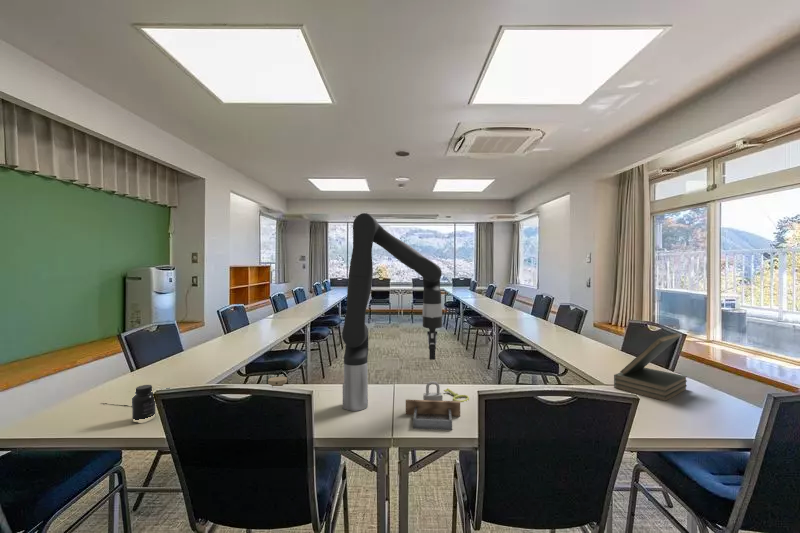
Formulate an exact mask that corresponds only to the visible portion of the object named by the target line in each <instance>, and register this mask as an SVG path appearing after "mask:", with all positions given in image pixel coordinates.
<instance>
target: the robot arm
mask: <svg viewBox="0 0 800 533" xmlns="http://www.w3.org/2000/svg"><path fill="white" fill-rule="evenodd" d="M352 223H353V224H352V253H351V256H350V257H351V258H350V264H349V271H348V278H347V291H346V292H347V293H346V294H347V295H346V313H345V317H344V318H345V319H344V322H343V327H342V332H341V337H342V341H343V342H344V344H345V349H344V355H343V383H342V409H345V410H347V411H352V412H354V411H355V412H356V411H362V410H365V409H367V408H368V406H369V398H368V397H369V389H368V388H369V383H368V381H369V378H368V375H369V374H368V373H369V372H368V366H369V365H368V364H369V363H368V362H369V361H368V357H369V329H368V326H367V324H366V311H367V307H368V303H369V300H370V296H371V292H372V286H373V285H372V284H373V276H374V275H373V271H374V270H373V269H374V268H373V243H375V244H377V245H378V246H380V247H381V248H383V249H384V250H385V251H387V252H388V253H389V254H390V255H391V256H393V258H395V259H397V260H398V261H399V262H401V263H402V265H403V264H404V265H405V266H406V267H407V268H409V269H411V270H413V271H414V272H416V273H417V274H419V276H421V277H422V284H423V292H422V293H423V294H422V297H423V298H422V303H423V304H422V328H425V329H428V331H427V332H426V336H427V337H426V338H427V344H428V352H429V360H430V361H431V360H433V361H434V360H436V350H437V347H436V346H437V344H438V330H437V331H436V329H440V328H442V327H443V307H442V292H441V277H442V275H443V274H442V268H441V267H440V265H438V264H436V263H435V262H433V261H432V260H430V259H428V258H427V257H425V256H424V255H423V254H421V253H420V252H419V251H417V250H416V249H415V248H414V247H411V246H410V245H409V244H407V243H405V242H404V241H402V240H401V239H399V238H397V237H395V236H394V235H392V234H391V233H390V232H389V231H387V230H386V229H385V228H384V227H383V226H382V225H381V224H380V223H379V222H378V221H377V220H376V218H375V217H374V216H373V215H371V214H370V213H368V212H367V213H366V212H362V213H360V214H358V215H357V216H356V217H355V218H354V219H353V222H352Z"/></svg>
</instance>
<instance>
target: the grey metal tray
mask: <svg viewBox="0 0 800 533" xmlns="http://www.w3.org/2000/svg"><path fill="white" fill-rule="evenodd" d="M452 417H453V416H451V408H448V415H447V414H417V407H415V411H414V415H413V417H412V418H413V420H412V425H413V426H412V427H413V430H414V429H417V430H418V429H419V430H420V429H421V430H422V429H423V430H442V431H443V430H445V431H446V430H447V431H452V430H453V418H452Z"/></svg>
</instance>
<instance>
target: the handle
mask: <svg viewBox="0 0 800 533" xmlns="http://www.w3.org/2000/svg"><path fill="white" fill-rule="evenodd" d="M267 383H268V385H270V386H272V387H273V386H283V387H284V385H285V384H287V383H288V377H286V376H275V377H270V378H268V380H267Z"/></svg>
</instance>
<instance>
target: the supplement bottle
mask: <svg viewBox="0 0 800 533" xmlns="http://www.w3.org/2000/svg"><path fill="white" fill-rule="evenodd" d="M152 388H153V385H152V384H144V385H139V386H136V387H135V389H136V392H135V394H136V395H135V396H134V397H133V398H132V408H131V410H132V411H131V413H132V418H133V419H135V420H139V419H145V418H148V417H151V416H153V415H154V414H155V415H156V405H155V401H154V397H153V392H151V391H152Z"/></svg>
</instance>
